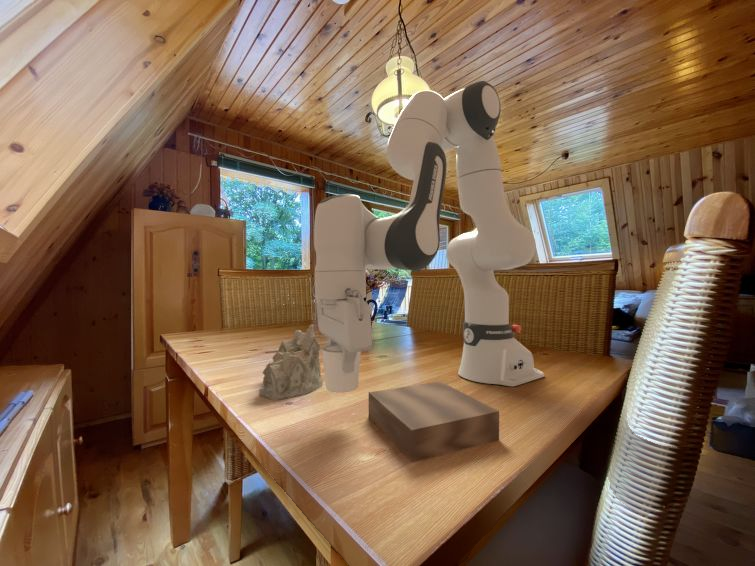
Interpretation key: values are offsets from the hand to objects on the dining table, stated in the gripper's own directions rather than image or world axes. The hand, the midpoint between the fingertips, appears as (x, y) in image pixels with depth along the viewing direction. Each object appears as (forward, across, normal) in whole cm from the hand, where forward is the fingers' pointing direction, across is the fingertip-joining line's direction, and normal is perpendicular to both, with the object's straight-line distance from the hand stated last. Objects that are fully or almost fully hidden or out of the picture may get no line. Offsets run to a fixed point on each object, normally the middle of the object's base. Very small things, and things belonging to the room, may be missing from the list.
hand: (342, 366), depth 55 cm
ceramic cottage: (+10, +25, +6) cm, 28 cm away
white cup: (+4, 0, 0) cm, 4 cm away
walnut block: (+11, -7, -13) cm, 18 cm away
